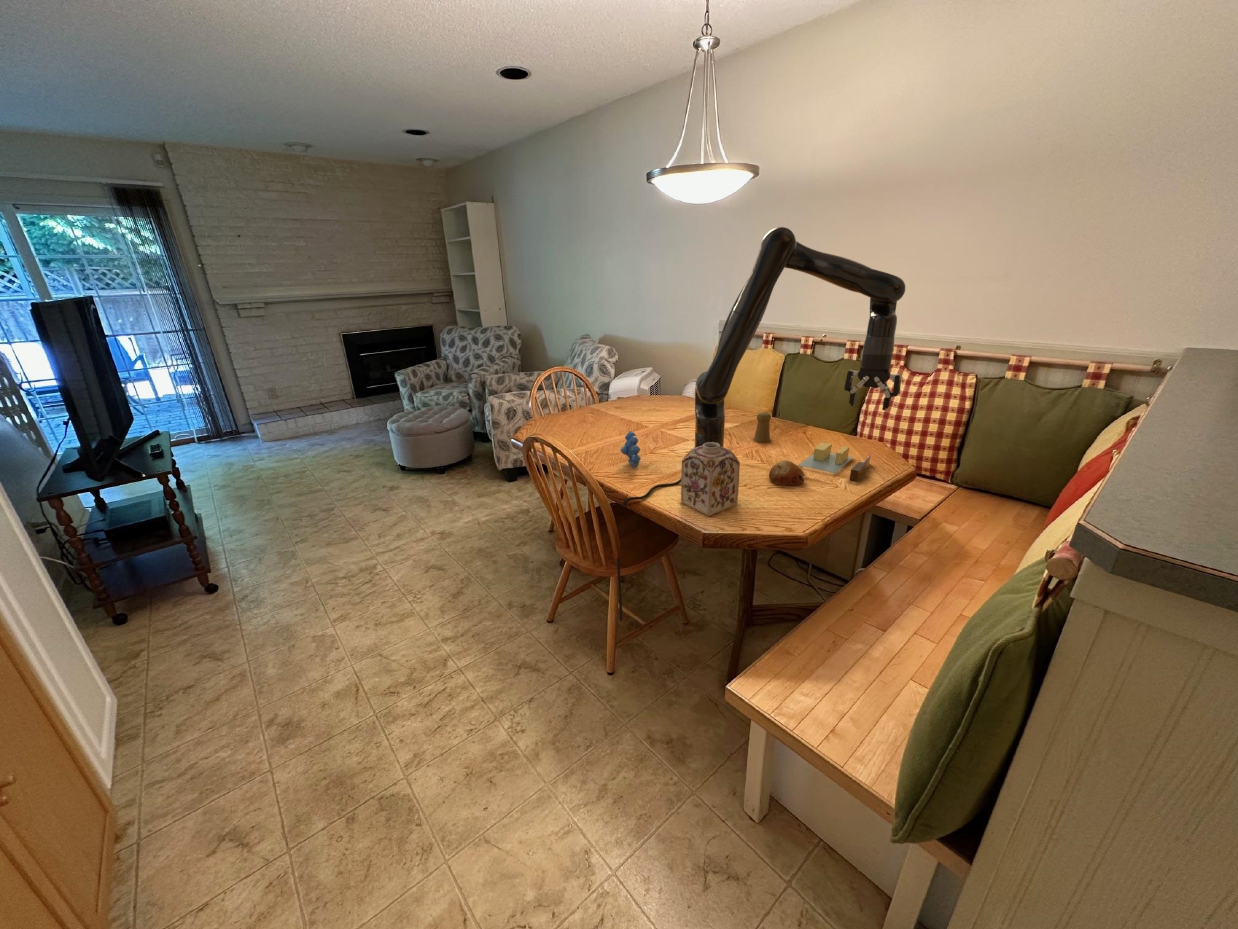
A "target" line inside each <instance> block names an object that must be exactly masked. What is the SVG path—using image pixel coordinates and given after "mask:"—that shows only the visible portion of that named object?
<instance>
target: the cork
mask: <svg viewBox="0 0 1238 929" xmlns="http://www.w3.org/2000/svg"><path fill="white" fill-rule="evenodd" d="M771 419H772V415H771V413H769V412H766V411H761V412H759V413H757V415H756V420H757V424H756V428H755V433H754V438H753V441H754V442H757V443H763V444H764V443H765V444H766V443H769V442H770V441H771V433H770V432H771V431H770V421H771Z"/></svg>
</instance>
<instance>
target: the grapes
mask: <svg viewBox="0 0 1238 929" xmlns="http://www.w3.org/2000/svg"><path fill="white" fill-rule="evenodd" d="M624 439H625V440H626V441H625V443H624V444H623V446H621V448H620V452H621V453H622V454H623V455H624V456H626V457H628V460H627V462H628V463H629V465H630V466H631V467H633V468H634V469H635V468H638V466H639V464H640V461H641V459H642V457H641V456H640V455H639V453H640V451H641V448H640V447H639V446H638V445H637V444H638V443H639V439H638V437H637V434H636V433H635V432H634V431H632V430H629V432H628V433H627V434H625V437H624Z"/></svg>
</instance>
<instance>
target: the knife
mask: <svg viewBox="0 0 1238 929" xmlns="http://www.w3.org/2000/svg"><path fill="white" fill-rule="evenodd" d="M870 460H871V455H870V454H869V455H868V456H866V458H865V459H864V460H863V461H857V463H856V464H855V465H853V467H852V468H851V469H850V473H849V481H852V482H857V483H858V482H859V480H860V479H862V477H863V476H864V475H865V473H866V472H865V471H866V469H867V467H869V465H870Z"/></svg>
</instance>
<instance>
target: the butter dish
mask: <svg viewBox="0 0 1238 929" xmlns="http://www.w3.org/2000/svg"><path fill="white" fill-rule="evenodd" d="M813 456H814V453H812V454H811V455H810V456H808V457H807V458H806V459H804V460H803V461H802V462H801V463H800V464H798V466H799V467H804V468H808V469H813V470H816V471H817V470H818V471H822V472H827V473H831V474H837V473H838V472H839V471H840V470H841V469H843V468H844V466H846V465H847V464H848V463H849V462H850V461H851V460H852V459H854V456H850V455H848V458H847V459H846V460H845V461H844V462H843V463H842V464H841V465H838V464H835V459H836V453H833V452H831V454H830V455H829V456H828V457H827V458H826V459H825V460H823V461H818V460H814V459H813Z"/></svg>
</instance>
